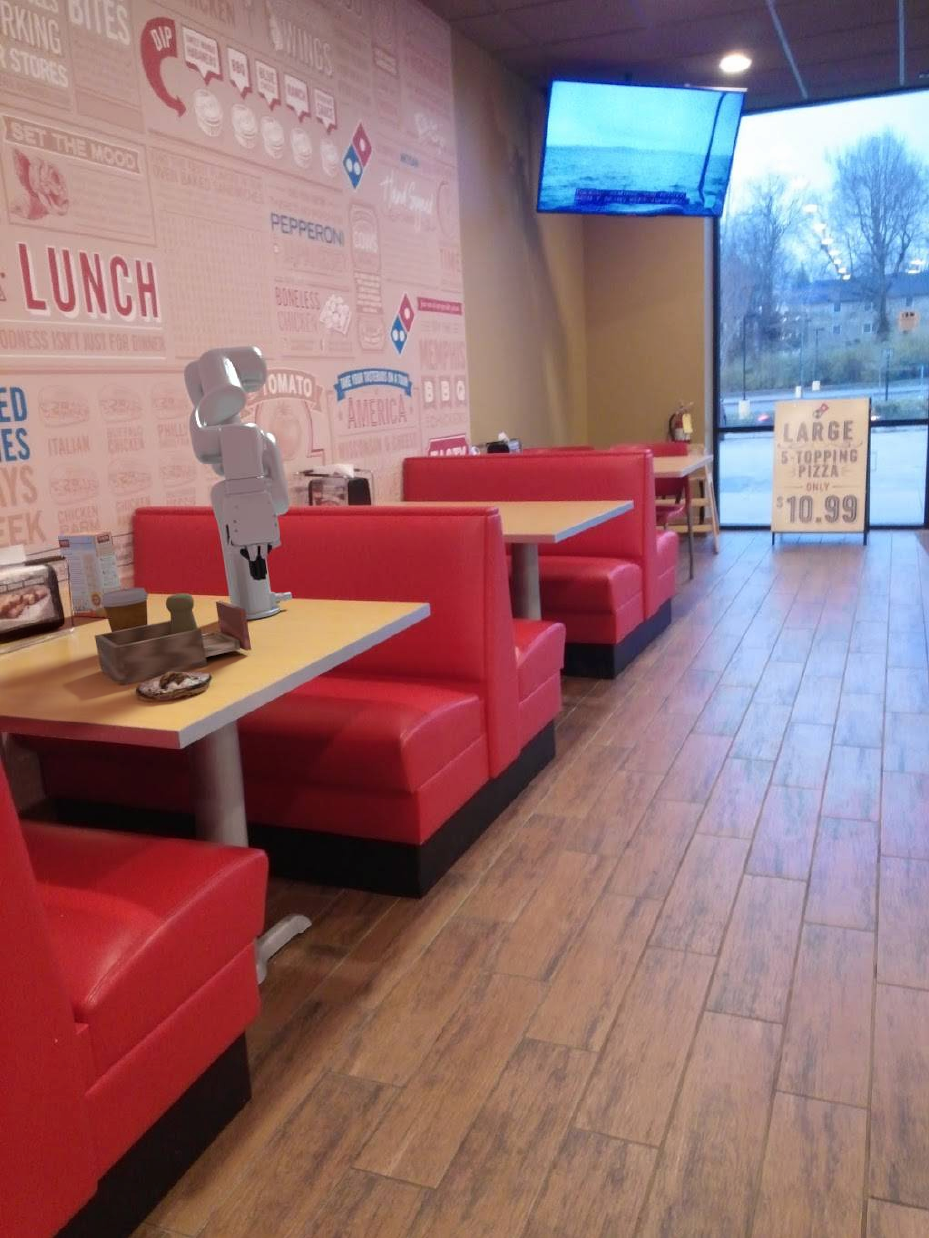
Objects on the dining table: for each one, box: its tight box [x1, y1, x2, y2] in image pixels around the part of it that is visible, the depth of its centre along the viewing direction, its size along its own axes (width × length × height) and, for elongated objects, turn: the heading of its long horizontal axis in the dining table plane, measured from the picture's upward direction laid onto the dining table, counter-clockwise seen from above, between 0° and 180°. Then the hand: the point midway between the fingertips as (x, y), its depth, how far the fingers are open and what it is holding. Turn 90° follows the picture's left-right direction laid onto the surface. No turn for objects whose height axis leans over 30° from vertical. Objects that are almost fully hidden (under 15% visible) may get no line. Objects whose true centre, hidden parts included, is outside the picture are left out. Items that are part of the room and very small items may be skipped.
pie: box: [135, 671, 213, 703], centre depth 169 cm, size 15×15×4 cm
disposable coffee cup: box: [100, 587, 149, 632], centre depth 205 cm, size 10×10×12 cm
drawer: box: [202, 600, 252, 658], centre depth 191 cm, size 16×14×8 cm
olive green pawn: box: [165, 592, 199, 635], centre depth 189 cm, size 6×6×11 cm
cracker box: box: [57, 531, 122, 619], centre depth 245 cm, size 14×6×21 cm, turn 58°
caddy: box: [94, 619, 208, 686], centre depth 186 cm, size 16×15×7 cm
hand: (259, 579), depth 196 cm, fingers closed
